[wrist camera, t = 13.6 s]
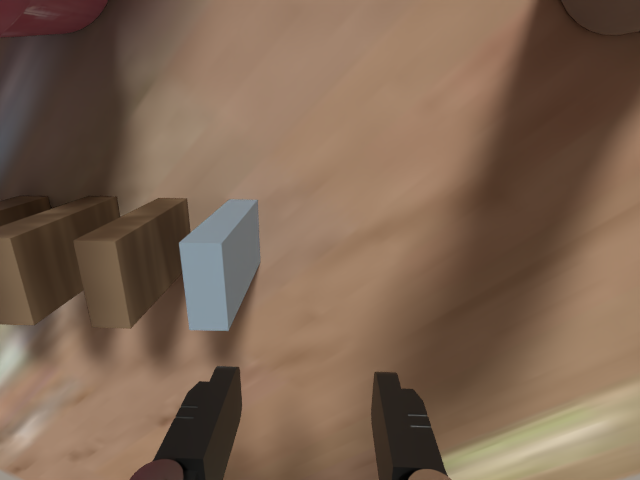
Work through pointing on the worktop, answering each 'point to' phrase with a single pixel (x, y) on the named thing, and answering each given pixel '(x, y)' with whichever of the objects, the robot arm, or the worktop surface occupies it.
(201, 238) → the domino
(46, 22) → the plant pot
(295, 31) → the worktop surface
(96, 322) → the domino
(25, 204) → the domino
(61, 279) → the domino
